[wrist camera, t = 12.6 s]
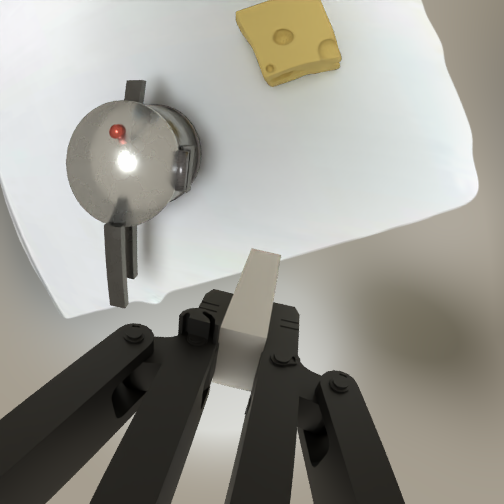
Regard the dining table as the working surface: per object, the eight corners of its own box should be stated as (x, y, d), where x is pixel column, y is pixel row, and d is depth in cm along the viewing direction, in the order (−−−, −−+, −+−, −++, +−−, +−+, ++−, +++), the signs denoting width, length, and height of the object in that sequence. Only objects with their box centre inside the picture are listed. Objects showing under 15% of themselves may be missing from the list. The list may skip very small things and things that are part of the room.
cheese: (338, 69, 37) (348, 55, 28) (268, 90, 40) (259, 81, 31) (312, 10, 34) (314, -17, 25) (243, 31, 37) (228, 9, 28)
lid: (73, 102, 34) (63, 102, 31) (196, 103, 34) (192, 102, 32) (79, 288, 46) (72, 296, 44) (180, 309, 46) (176, 318, 44)
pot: (117, 85, 42) (84, 82, 34) (218, 88, 41) (199, 80, 33) (111, 247, 54) (84, 267, 46) (198, 266, 53) (180, 292, 45)
